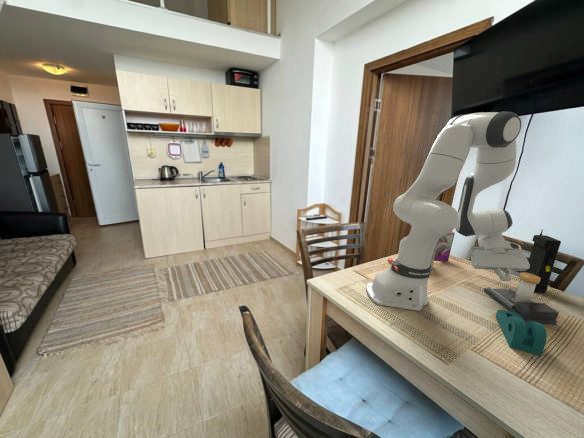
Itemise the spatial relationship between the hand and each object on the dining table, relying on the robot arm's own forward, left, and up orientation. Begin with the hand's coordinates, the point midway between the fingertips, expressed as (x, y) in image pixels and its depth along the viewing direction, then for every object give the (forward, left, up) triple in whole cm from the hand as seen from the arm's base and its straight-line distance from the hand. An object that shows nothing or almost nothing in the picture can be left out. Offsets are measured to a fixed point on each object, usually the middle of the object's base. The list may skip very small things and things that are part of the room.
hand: (506, 280), depth 94 cm
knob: (0, -8, -5) cm, 10 cm away
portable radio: (+18, +7, -7) cm, 20 cm away
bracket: (-12, -21, -7) cm, 25 cm away
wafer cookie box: (-9, +33, -7) cm, 35 cm away
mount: (0, -7, -7) cm, 10 cm away
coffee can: (-20, +25, -7) cm, 33 cm away
